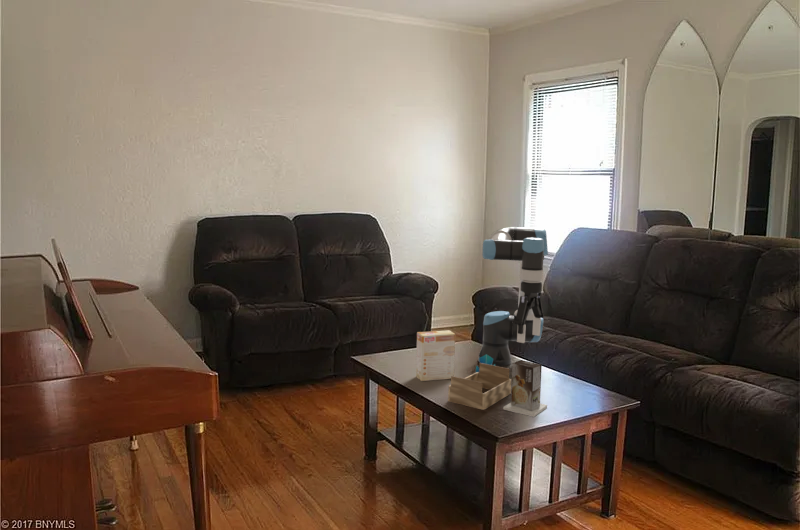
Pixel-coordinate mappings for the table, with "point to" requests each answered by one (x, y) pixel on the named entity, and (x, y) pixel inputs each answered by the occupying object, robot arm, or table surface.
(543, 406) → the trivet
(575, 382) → the table surface
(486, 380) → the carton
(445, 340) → the coffeecake box
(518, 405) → the coffee box
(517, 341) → the robot arm
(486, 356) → the gemstone
